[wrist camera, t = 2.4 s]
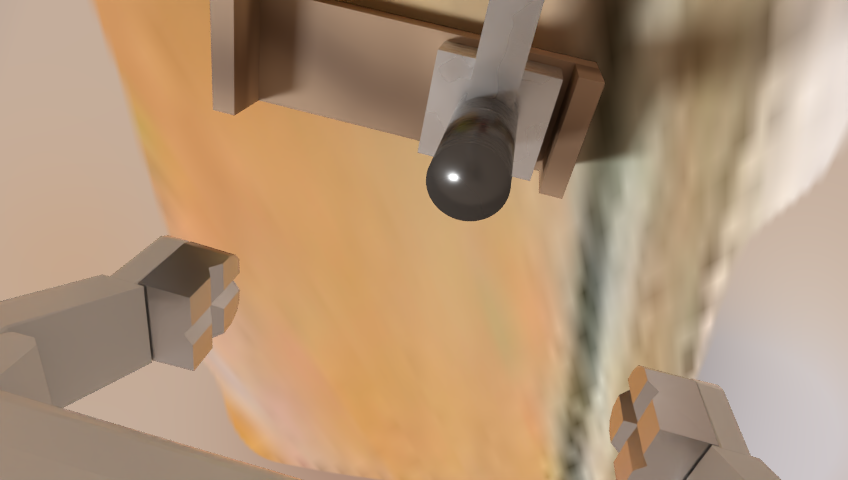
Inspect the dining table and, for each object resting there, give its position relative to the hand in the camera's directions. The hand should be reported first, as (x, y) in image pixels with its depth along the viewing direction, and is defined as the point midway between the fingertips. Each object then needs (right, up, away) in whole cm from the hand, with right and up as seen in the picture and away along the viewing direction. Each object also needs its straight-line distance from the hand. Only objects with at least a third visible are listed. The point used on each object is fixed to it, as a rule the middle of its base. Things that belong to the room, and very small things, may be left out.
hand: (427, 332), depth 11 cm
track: (-1, +9, +14) cm, 17 cm away
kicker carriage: (+4, +12, +11) cm, 16 cm away
